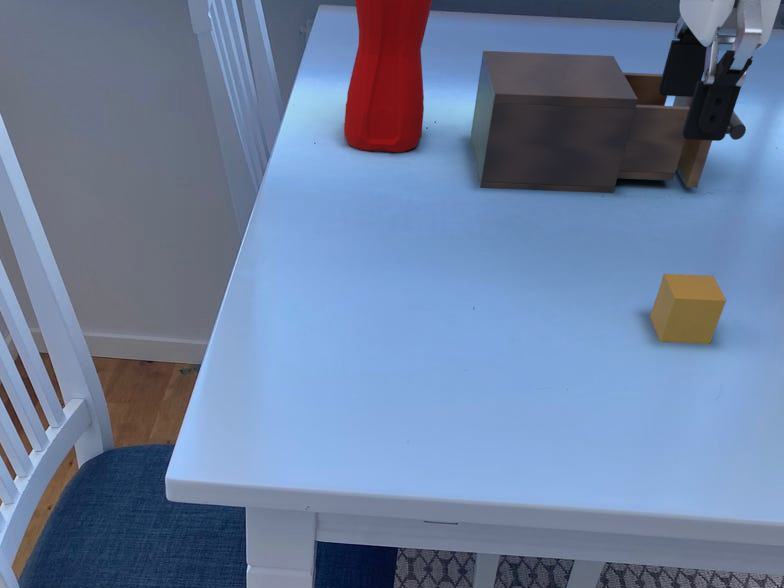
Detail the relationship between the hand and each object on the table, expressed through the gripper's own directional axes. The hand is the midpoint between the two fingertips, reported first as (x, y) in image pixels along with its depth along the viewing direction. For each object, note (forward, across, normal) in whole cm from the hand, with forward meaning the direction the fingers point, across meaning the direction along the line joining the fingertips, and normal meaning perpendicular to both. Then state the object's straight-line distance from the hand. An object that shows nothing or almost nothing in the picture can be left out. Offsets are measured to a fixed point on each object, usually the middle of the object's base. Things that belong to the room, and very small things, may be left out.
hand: (688, 115), depth 77 cm
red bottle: (+16, +36, +24) cm, 46 cm away
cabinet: (+16, +30, +6) cm, 34 cm away
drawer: (+15, +30, -6) cm, 34 cm away
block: (+16, -6, -3) cm, 17 cm away
